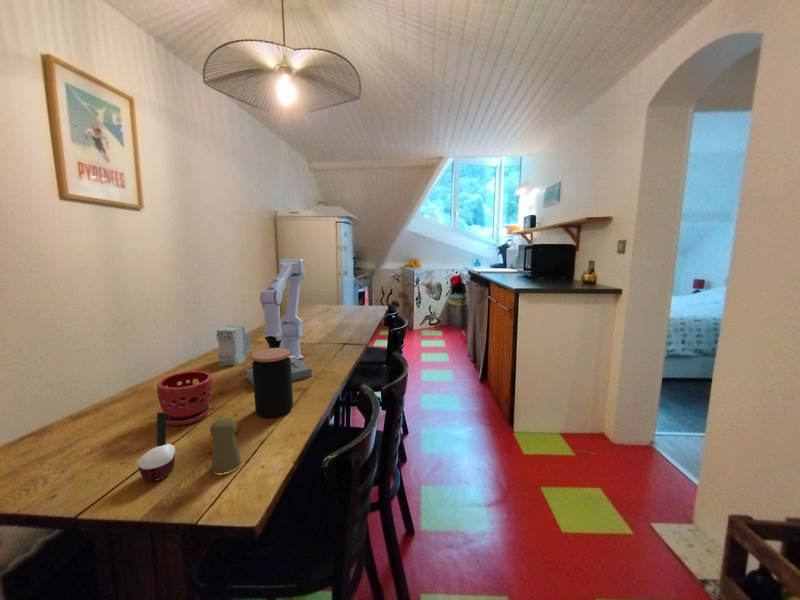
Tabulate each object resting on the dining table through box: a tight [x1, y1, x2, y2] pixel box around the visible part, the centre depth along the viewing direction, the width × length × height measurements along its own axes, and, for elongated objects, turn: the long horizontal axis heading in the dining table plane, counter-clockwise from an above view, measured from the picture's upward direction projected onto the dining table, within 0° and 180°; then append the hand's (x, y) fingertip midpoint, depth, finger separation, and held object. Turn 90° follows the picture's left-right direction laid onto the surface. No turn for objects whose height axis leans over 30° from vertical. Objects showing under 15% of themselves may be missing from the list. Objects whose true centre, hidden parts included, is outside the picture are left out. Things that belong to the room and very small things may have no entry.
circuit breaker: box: [215, 325, 252, 366], centre depth 146 cm, size 8×14×15 cm, turn 174°
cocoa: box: [137, 411, 176, 483], centre depth 72 cm, size 10×6×12 cm, turn 174°
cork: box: [209, 417, 242, 473], centre depth 75 cm, size 6×6×11 cm
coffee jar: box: [251, 347, 294, 419], centre depth 100 cm, size 11×11×18 cm
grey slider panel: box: [245, 359, 313, 387], centre depth 127 cm, size 14×20×3 cm
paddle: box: [289, 356, 296, 363], centre depth 133 cm, size 2×3×2 cm, turn 128°
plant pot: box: [156, 370, 213, 426], centre depth 96 cm, size 13×13×12 cm
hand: (274, 354), depth 132 cm, fingers closed
